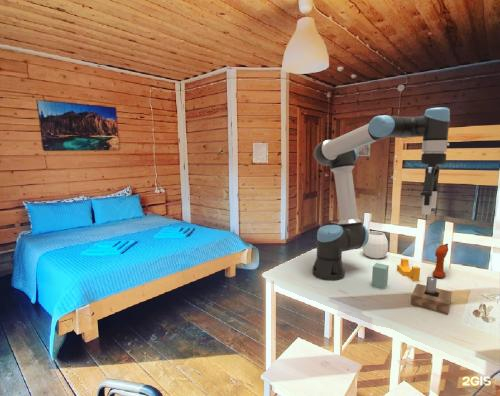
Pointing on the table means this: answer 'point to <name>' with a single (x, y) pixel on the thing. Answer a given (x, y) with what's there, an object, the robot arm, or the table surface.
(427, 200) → the robot arm
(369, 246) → the white round pot
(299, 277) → the table surface
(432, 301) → the socket block
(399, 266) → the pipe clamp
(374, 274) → the grey-green rectangular block
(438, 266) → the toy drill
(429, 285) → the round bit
